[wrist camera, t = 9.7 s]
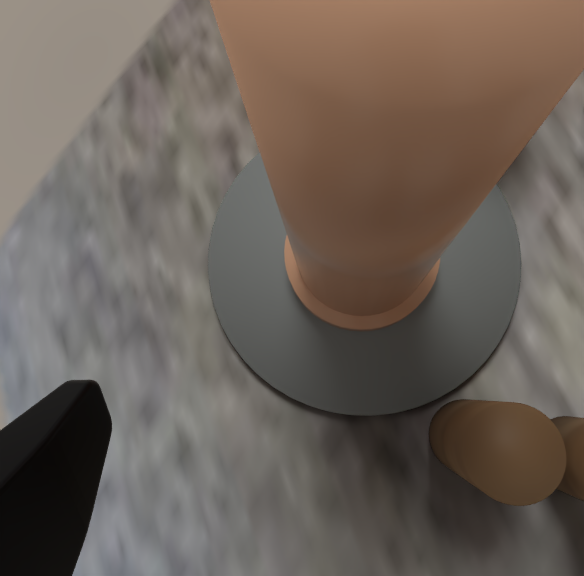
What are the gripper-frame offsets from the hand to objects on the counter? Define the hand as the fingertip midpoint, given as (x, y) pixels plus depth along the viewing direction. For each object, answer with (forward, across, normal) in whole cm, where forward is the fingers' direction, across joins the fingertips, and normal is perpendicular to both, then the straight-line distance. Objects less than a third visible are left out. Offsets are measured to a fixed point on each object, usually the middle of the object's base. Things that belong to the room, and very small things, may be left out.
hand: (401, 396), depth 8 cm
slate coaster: (+11, 0, +4) cm, 12 cm away
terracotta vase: (+11, 0, +4) cm, 11 cm away
